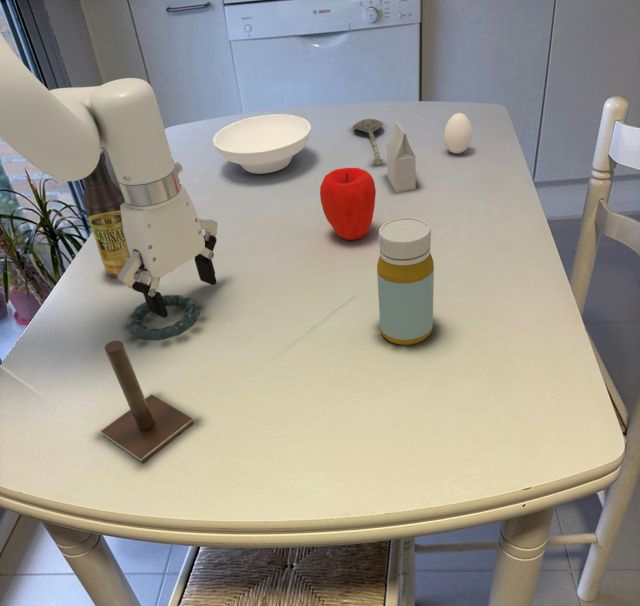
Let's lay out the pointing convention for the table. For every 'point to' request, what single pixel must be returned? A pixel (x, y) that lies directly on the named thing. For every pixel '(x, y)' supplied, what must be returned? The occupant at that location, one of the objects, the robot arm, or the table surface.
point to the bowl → (263, 141)
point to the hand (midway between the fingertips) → (185, 297)
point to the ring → (169, 331)
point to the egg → (458, 133)
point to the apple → (348, 201)
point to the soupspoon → (371, 134)
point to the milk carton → (400, 161)
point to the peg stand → (141, 412)
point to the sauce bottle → (106, 217)
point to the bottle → (405, 280)
